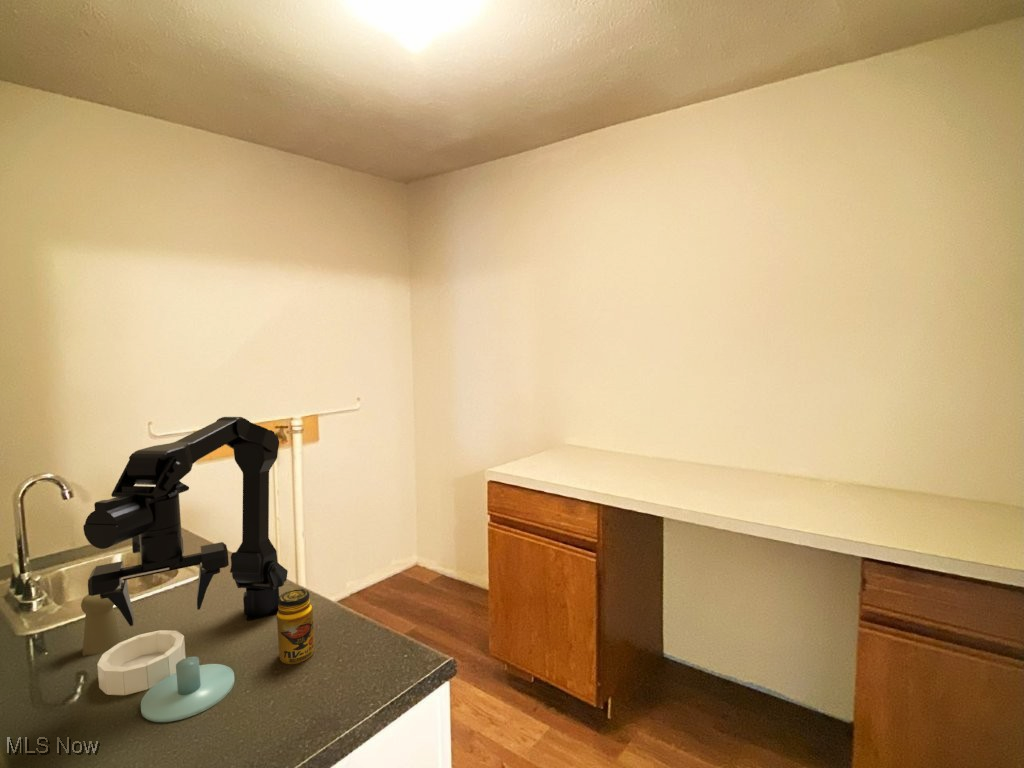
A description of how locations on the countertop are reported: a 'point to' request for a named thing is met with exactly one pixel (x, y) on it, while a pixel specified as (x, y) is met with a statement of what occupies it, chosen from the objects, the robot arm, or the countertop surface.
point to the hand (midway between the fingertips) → (166, 616)
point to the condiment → (295, 626)
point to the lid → (187, 691)
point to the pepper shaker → (99, 625)
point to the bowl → (140, 662)
